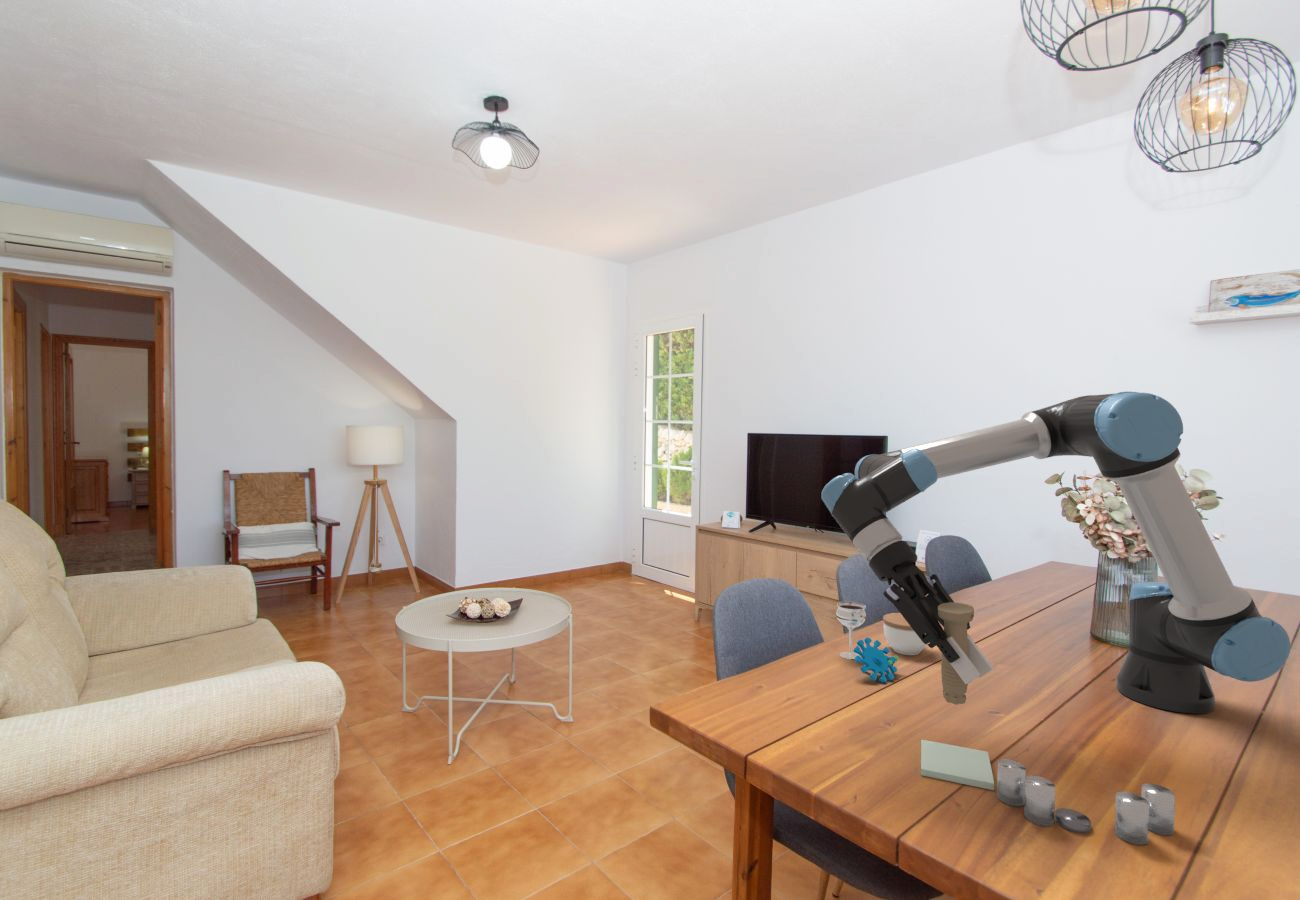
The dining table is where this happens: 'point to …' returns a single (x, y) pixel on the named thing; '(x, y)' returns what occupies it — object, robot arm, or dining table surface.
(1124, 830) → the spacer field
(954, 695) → the handle
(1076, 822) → the disc
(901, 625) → the lidded jar
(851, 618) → the wineglass
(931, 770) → the pad
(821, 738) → the dining table surface
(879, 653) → the gear
